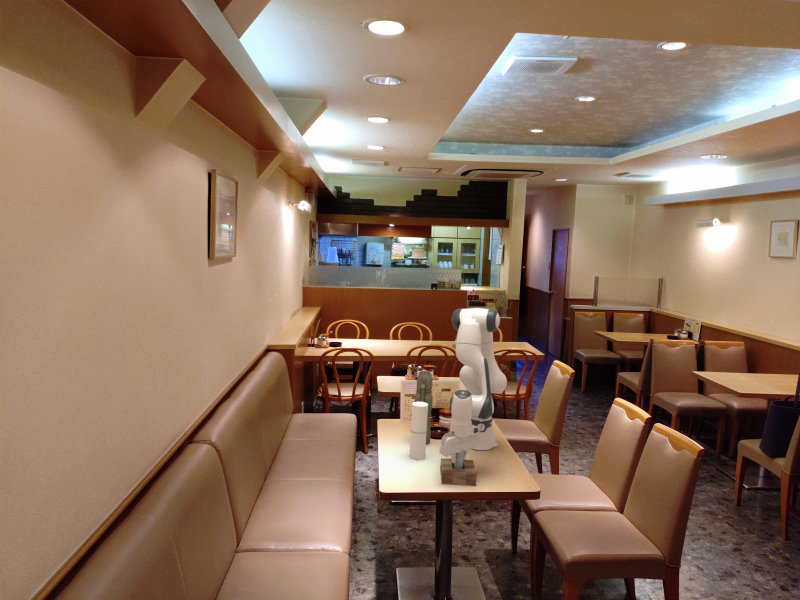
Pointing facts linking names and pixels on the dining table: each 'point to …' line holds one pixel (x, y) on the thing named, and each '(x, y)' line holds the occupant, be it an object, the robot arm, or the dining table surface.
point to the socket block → (458, 473)
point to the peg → (459, 460)
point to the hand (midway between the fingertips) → (458, 461)
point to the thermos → (425, 396)
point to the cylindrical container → (418, 430)
